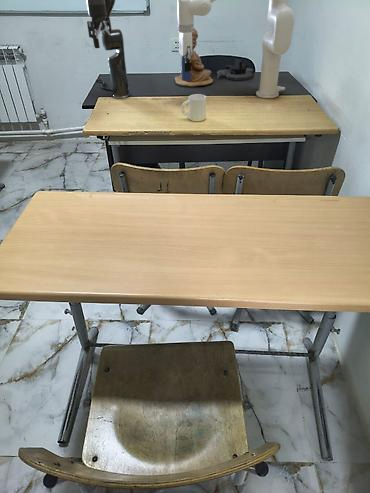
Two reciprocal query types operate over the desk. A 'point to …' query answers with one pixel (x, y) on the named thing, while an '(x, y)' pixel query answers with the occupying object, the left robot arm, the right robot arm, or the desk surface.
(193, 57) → the sculpture
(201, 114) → the mug
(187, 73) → the can
